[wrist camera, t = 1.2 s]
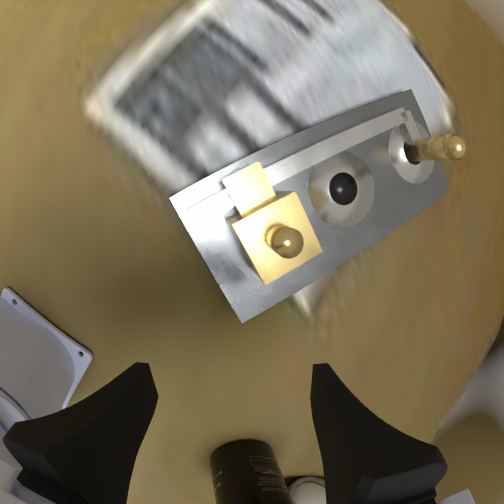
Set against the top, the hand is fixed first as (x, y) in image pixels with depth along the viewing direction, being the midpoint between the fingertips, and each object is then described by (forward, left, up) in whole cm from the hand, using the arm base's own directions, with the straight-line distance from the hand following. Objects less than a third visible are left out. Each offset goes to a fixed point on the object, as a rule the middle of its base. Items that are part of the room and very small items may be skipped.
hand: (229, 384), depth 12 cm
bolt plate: (+2, +12, -10) cm, 16 cm away
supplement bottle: (+13, -13, -10) cm, 21 cm away
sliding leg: (-1, +7, -8) cm, 11 cm away
